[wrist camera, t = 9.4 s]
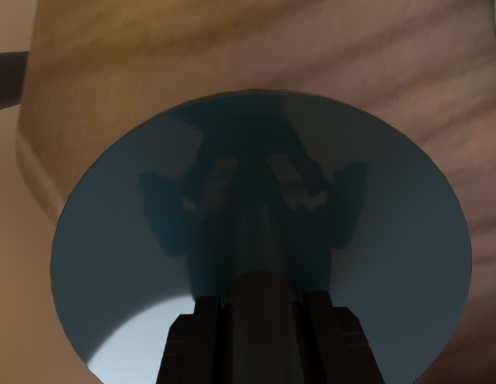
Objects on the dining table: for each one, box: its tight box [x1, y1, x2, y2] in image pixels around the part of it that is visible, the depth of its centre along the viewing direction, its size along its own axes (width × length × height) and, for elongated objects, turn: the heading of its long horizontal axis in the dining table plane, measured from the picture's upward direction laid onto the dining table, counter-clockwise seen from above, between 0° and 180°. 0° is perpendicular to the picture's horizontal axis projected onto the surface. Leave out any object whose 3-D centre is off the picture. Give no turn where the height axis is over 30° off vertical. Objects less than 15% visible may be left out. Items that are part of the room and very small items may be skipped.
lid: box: [50, 89, 472, 384], centre depth 10 cm, size 14×14×6 cm
